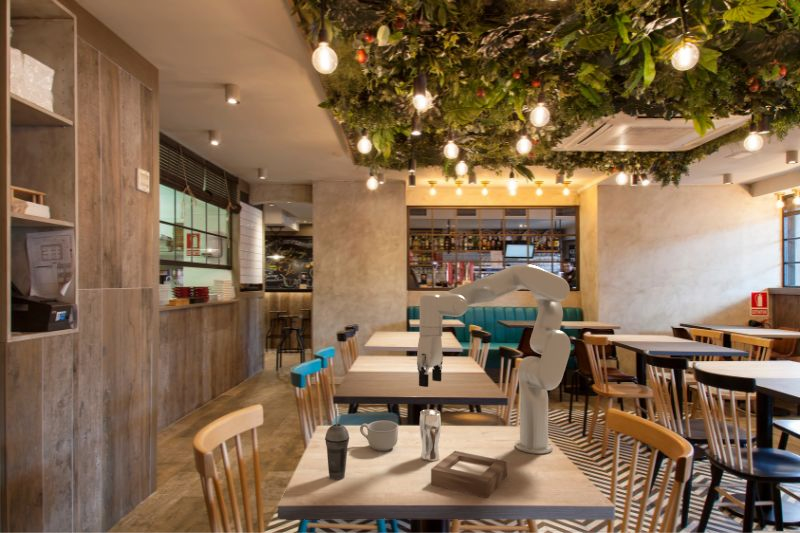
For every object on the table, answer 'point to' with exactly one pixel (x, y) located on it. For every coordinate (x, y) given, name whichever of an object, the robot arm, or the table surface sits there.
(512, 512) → the table surface
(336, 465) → the beverage cup
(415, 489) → the table surface
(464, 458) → the frame
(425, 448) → the beer glass
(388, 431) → the teacup
